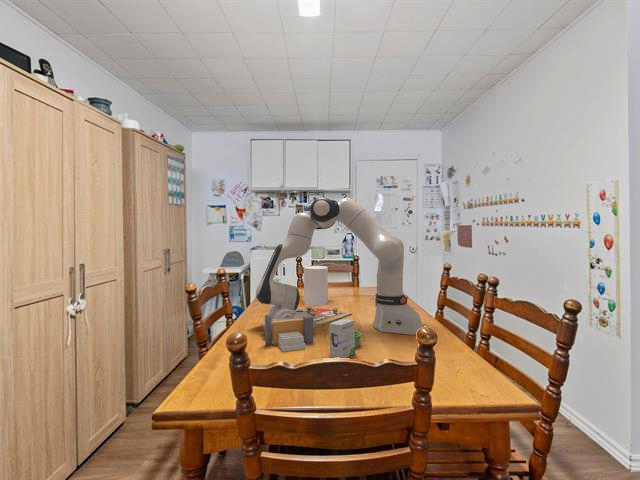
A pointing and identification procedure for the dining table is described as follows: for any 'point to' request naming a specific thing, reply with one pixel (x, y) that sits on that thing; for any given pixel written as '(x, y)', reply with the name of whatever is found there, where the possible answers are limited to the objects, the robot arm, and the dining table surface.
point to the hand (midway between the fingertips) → (295, 329)
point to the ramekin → (357, 338)
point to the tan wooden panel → (286, 328)
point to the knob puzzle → (324, 314)
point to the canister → (315, 285)
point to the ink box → (342, 338)
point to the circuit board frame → (290, 335)
